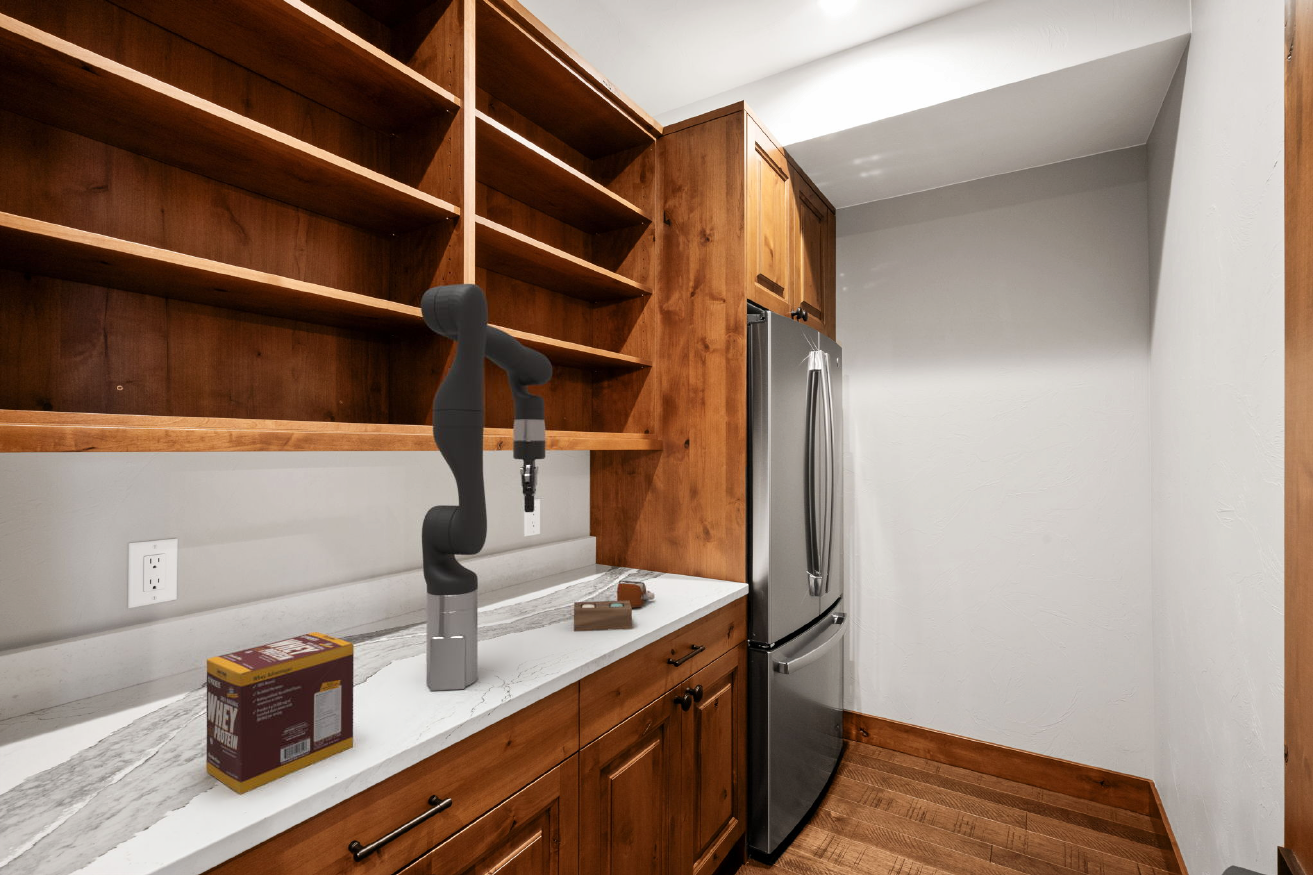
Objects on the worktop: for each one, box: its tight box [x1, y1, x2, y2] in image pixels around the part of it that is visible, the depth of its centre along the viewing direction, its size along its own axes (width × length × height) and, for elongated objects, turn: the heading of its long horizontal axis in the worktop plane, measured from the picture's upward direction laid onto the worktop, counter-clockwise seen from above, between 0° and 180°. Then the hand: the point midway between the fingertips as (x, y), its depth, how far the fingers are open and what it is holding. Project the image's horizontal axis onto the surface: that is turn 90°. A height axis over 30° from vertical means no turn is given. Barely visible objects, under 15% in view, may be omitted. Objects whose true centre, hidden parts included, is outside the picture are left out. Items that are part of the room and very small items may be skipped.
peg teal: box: [611, 603, 623, 607], centre depth 153 cm, size 3×3×5 cm
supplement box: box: [205, 631, 355, 795], centre depth 88 cm, size 10×15×16 cm
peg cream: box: [582, 604, 594, 608], centre depth 152 cm, size 3×3×5 cm
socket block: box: [573, 600, 633, 632], centre depth 153 cm, size 8×14×5 cm, turn 97°
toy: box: [616, 580, 655, 609], centre depth 175 cm, size 9×7×15 cm
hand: (529, 511), depth 146 cm, fingers closed
